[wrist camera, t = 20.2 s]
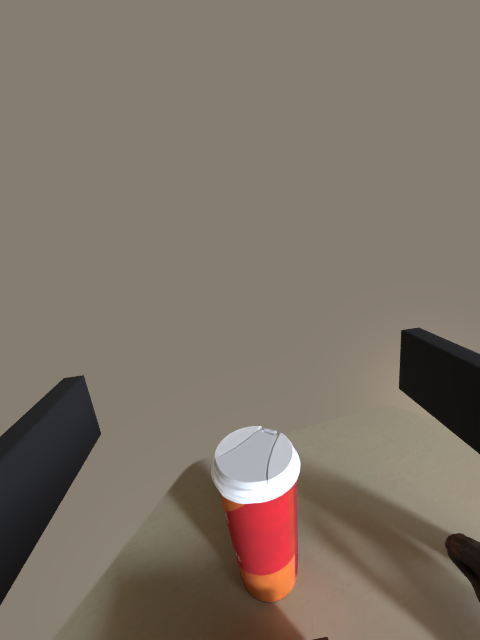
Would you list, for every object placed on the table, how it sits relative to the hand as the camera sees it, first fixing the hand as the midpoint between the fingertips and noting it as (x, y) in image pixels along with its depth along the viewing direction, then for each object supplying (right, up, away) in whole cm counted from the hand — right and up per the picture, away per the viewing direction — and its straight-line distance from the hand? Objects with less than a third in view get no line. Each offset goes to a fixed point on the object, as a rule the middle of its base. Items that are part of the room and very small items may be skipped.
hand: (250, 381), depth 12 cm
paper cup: (+2, -22, +16) cm, 28 cm away
